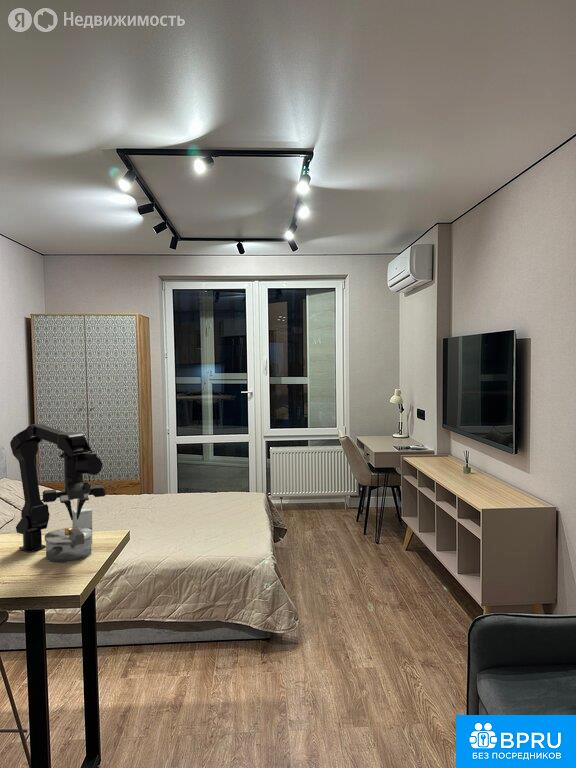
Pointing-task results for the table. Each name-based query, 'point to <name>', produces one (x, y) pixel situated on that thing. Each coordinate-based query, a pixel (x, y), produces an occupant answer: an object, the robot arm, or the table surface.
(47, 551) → the pot
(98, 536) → the table surface
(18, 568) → the table surface
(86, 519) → the skincare box
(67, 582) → the table surface
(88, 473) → the robot arm
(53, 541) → the lid
